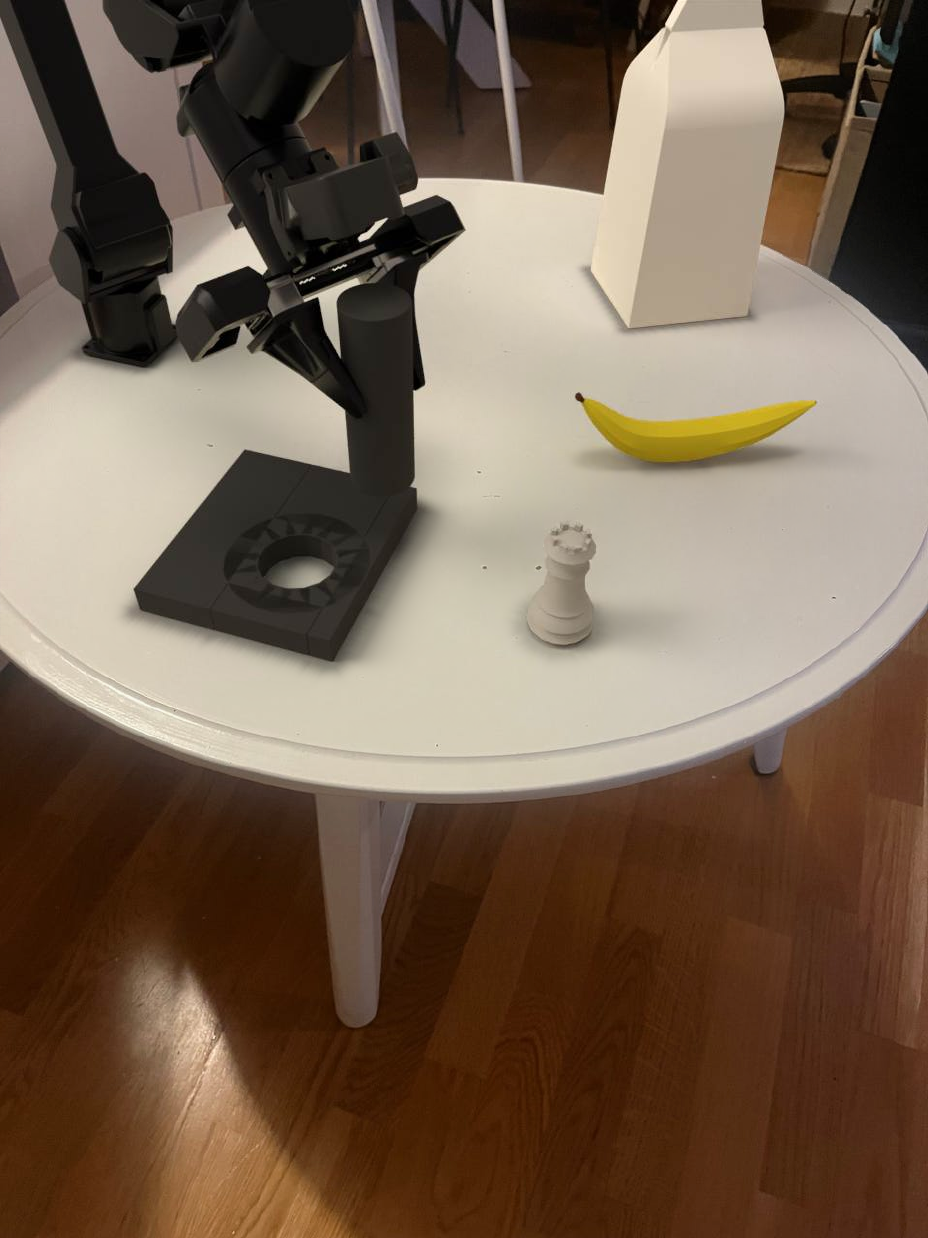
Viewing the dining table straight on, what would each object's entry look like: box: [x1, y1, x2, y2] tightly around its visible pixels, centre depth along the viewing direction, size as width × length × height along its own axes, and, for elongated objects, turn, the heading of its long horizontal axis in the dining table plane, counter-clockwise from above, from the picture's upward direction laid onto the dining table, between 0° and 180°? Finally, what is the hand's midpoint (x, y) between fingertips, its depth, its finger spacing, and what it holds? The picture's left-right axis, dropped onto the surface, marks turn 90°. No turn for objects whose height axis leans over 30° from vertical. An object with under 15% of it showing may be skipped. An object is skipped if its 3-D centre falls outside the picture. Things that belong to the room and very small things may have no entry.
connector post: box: [336, 283, 416, 497], centre depth 62 cm, size 4×4×13 cm
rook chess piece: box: [526, 520, 597, 646], centre depth 62 cm, size 4×4×8 cm
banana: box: [574, 391, 817, 463], centre depth 76 cm, size 3×19×6 cm, turn 95°
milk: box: [590, 0, 785, 329], centre depth 87 cm, size 12×12×26 cm
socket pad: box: [133, 449, 418, 662], centre depth 68 cm, size 14×16×2 cm
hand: (391, 402), depth 61 cm, fingers closed on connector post, 4 cm apart
